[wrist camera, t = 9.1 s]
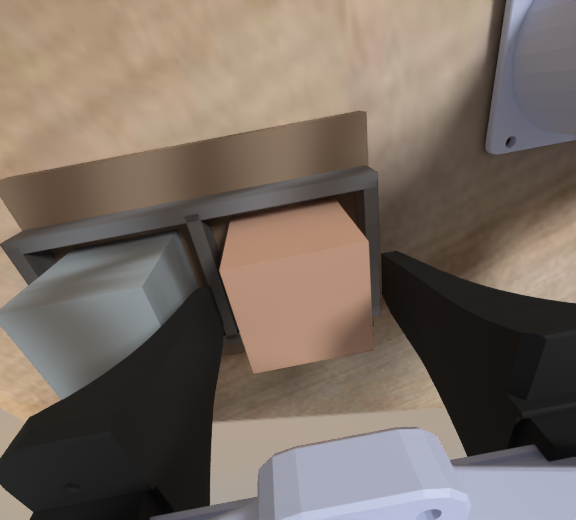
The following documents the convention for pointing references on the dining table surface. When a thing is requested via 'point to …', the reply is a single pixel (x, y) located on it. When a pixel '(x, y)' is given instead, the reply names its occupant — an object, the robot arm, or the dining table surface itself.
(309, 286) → the terracotta block
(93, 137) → the dining table surface
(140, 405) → the robot arm
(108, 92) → the dining table surface
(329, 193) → the puzzle board
